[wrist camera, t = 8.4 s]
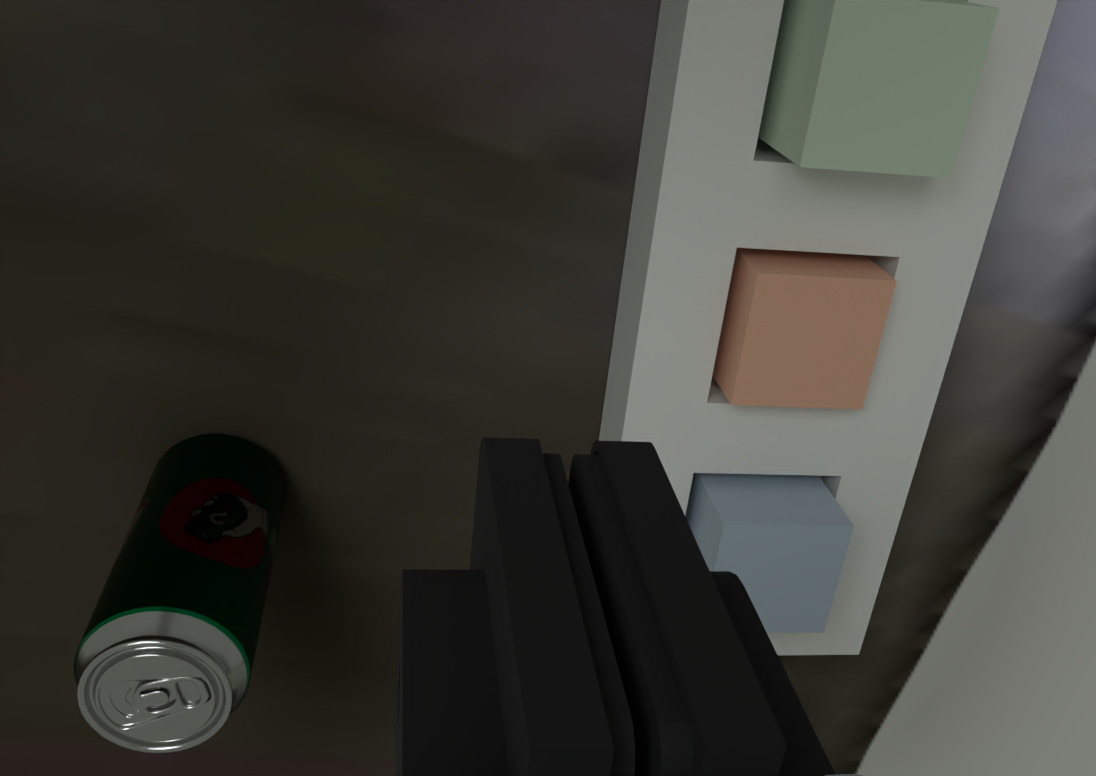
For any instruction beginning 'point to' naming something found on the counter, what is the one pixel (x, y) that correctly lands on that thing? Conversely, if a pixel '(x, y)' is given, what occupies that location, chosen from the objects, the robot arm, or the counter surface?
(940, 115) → the sage key
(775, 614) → the slate key
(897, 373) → the keypad housing
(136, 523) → the soda can
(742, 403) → the terracotta key
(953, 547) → the counter surface
